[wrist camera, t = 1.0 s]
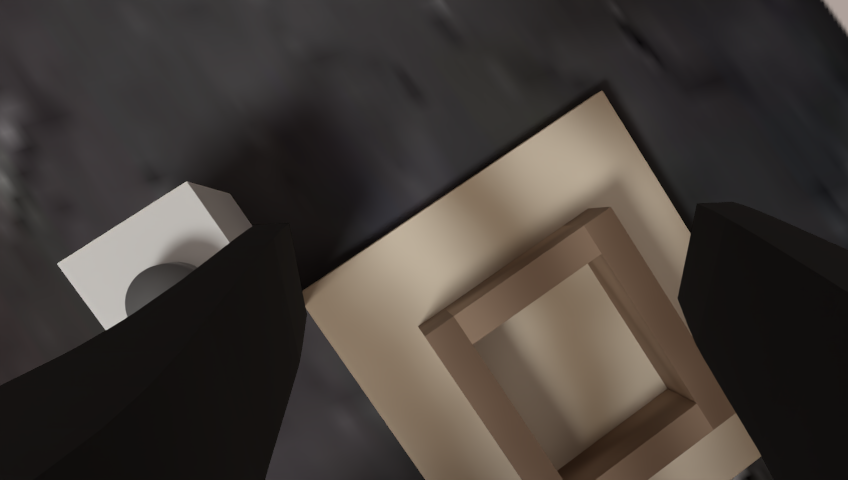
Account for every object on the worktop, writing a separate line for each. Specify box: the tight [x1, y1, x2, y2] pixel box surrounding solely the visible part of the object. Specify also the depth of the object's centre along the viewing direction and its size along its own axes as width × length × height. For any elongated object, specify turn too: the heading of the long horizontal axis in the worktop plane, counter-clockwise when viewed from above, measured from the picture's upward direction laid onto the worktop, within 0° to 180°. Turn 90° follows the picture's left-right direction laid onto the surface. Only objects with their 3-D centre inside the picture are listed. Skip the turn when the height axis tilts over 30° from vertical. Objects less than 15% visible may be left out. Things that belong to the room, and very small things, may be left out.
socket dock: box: [302, 91, 761, 480], centre depth 22 cm, size 14×16×3 cm
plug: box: [57, 181, 252, 330], centre depth 19 cm, size 4×5×7 cm
